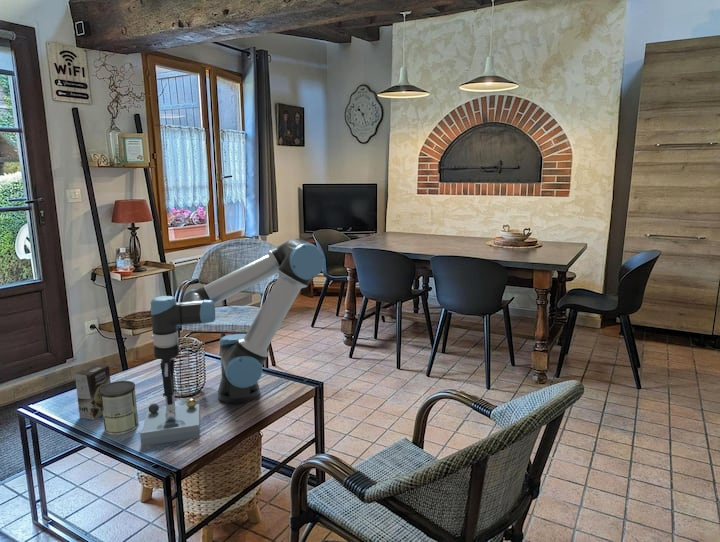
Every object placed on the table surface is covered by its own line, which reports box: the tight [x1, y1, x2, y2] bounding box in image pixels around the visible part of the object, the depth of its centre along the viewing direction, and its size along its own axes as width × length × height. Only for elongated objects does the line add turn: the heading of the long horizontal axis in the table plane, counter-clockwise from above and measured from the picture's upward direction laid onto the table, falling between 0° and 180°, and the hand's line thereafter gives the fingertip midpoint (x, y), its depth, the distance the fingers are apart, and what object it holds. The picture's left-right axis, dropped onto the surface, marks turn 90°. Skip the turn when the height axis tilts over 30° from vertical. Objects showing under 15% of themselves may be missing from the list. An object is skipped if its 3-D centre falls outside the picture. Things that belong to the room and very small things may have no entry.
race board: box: [139, 403, 201, 447], centre depth 166 cm, size 17×19×4 cm
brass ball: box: [186, 398, 197, 408], centre depth 174 cm, size 3×3×3 cm
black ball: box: [148, 403, 160, 413], centre depth 170 cm, size 3×3×3 cm
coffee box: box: [74, 363, 112, 421], centre depth 174 cm, size 9×6×16 cm
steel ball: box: [165, 410, 176, 420], centre depth 165 cm, size 3×3×3 cm
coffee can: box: [100, 380, 139, 436], centre depth 165 cm, size 10×10×14 cm
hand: (171, 411), depth 168 cm, fingers closed
